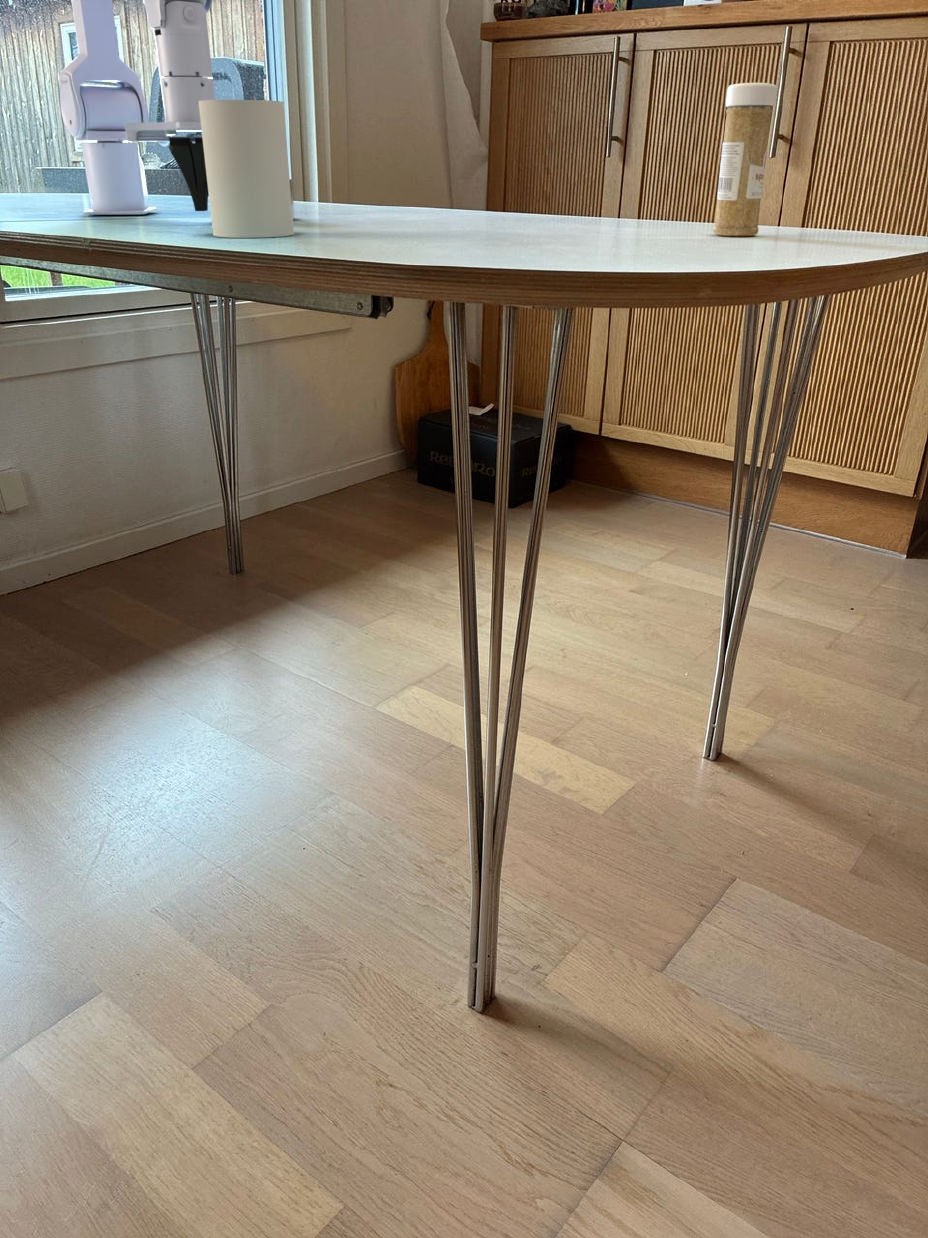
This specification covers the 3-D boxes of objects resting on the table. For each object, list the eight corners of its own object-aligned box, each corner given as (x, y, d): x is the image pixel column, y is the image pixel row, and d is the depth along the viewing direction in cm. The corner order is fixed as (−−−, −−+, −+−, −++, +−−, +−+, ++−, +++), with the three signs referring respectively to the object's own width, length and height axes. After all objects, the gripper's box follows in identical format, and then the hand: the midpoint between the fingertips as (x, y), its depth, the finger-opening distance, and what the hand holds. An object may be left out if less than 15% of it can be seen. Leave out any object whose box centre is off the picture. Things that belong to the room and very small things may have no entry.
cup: (266, 230, 102) (255, 104, 97) (309, 234, 97) (299, 101, 91) (198, 234, 97) (183, 101, 92) (239, 238, 92) (225, 98, 86)
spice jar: (764, 236, 94) (784, 81, 88) (718, 236, 94) (736, 81, 88) (749, 233, 98) (767, 85, 92) (706, 233, 98) (722, 85, 92)
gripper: (111, 75, 101) (131, 212, 107) (248, 75, 102) (260, 211, 108) (126, 79, 107) (144, 209, 113) (255, 80, 108) (266, 208, 114)
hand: (201, 210), depth 111 cm, fingers closed
